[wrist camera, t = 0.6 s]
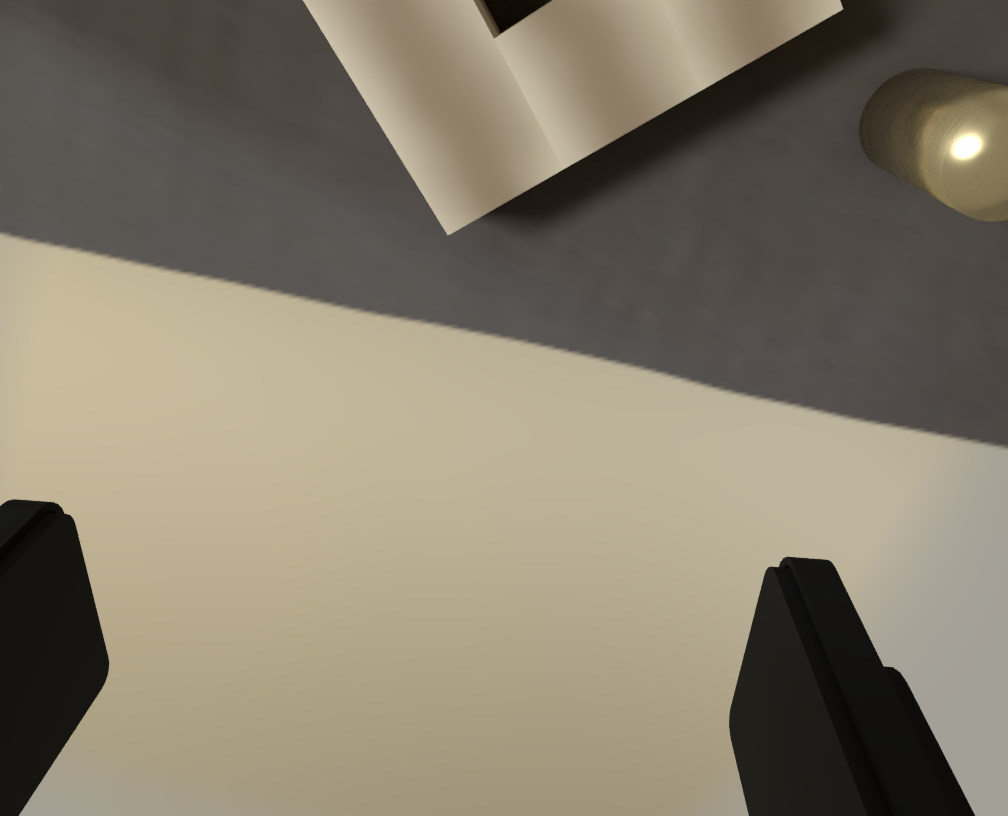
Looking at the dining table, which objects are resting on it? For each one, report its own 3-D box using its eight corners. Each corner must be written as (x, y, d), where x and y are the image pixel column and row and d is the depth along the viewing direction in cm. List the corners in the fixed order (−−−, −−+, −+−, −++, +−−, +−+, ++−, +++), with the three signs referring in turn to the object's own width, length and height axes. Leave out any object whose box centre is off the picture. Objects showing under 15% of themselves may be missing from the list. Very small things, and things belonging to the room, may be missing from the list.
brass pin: (945, 48, 31) (1060, 66, 24) (974, 140, 32) (1090, 183, 25) (845, 102, 32) (926, 134, 25) (877, 189, 34) (962, 242, 27)
